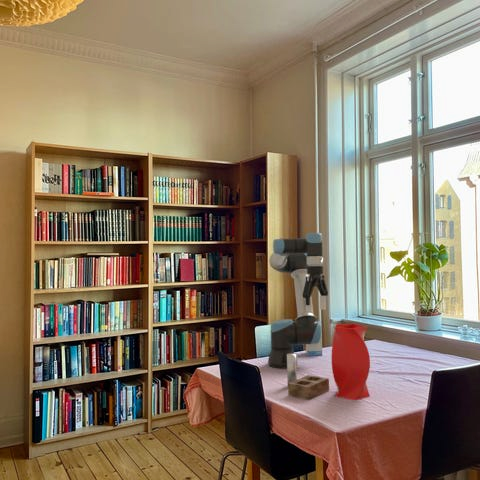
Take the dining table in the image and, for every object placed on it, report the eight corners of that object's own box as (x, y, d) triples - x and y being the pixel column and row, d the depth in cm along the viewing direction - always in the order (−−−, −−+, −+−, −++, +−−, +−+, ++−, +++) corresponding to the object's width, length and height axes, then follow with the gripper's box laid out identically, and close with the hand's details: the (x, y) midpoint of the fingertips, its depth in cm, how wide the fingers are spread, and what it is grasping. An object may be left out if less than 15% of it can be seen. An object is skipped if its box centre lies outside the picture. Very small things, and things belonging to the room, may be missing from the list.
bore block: (288, 395, 190) (287, 383, 190) (308, 386, 202) (308, 374, 202) (309, 399, 183) (308, 387, 183) (329, 390, 196) (328, 378, 196)
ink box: (322, 355, 263) (321, 332, 263) (307, 355, 263) (307, 332, 263) (320, 352, 271) (319, 329, 272) (305, 352, 271) (305, 329, 272)
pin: (285, 386, 202) (285, 354, 203) (290, 384, 206) (290, 352, 206) (293, 388, 200) (292, 355, 200) (298, 386, 203) (297, 354, 203)
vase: (345, 401, 180) (343, 329, 181) (324, 392, 193) (323, 324, 194) (376, 396, 186) (374, 326, 187) (354, 387, 199) (352, 322, 200)
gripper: (308, 266, 206) (309, 314, 205) (334, 264, 225) (335, 308, 224) (294, 266, 210) (295, 313, 209) (320, 265, 230) (321, 307, 229)
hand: (316, 310), depth 217 cm, fingers open, 13 cm apart
